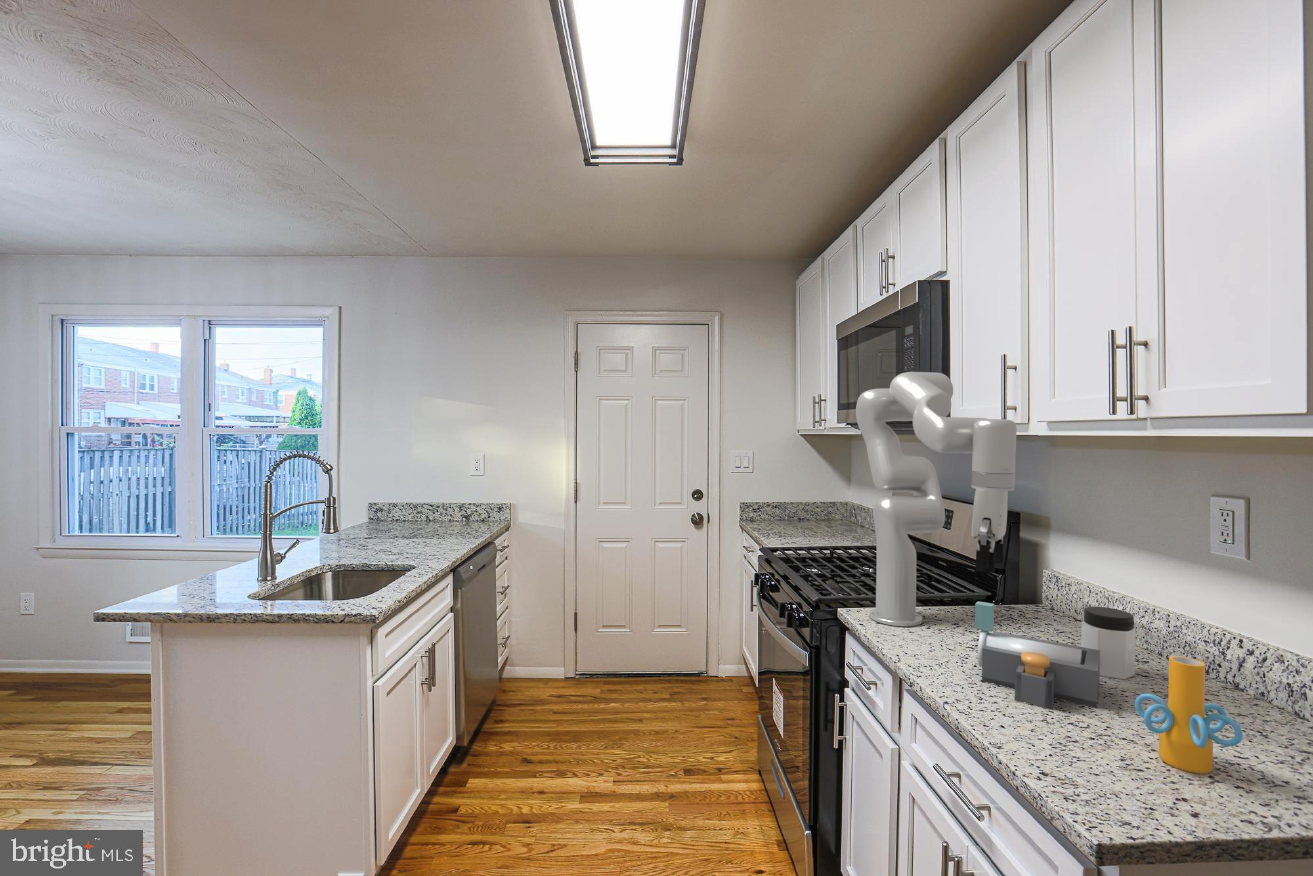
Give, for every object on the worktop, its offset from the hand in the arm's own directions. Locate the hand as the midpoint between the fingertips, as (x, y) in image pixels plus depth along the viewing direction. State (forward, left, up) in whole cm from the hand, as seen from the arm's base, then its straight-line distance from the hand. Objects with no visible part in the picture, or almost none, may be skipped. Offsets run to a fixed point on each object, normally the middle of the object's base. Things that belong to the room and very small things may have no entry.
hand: (989, 566), depth 123 cm
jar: (-16, +19, -22) cm, 33 cm away
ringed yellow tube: (+20, +29, -22) cm, 41 cm away
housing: (+2, +9, -21) cm, 23 cm away
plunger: (+8, +9, -20) cm, 24 cm away
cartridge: (-1, +6, -20) cm, 21 cm away
